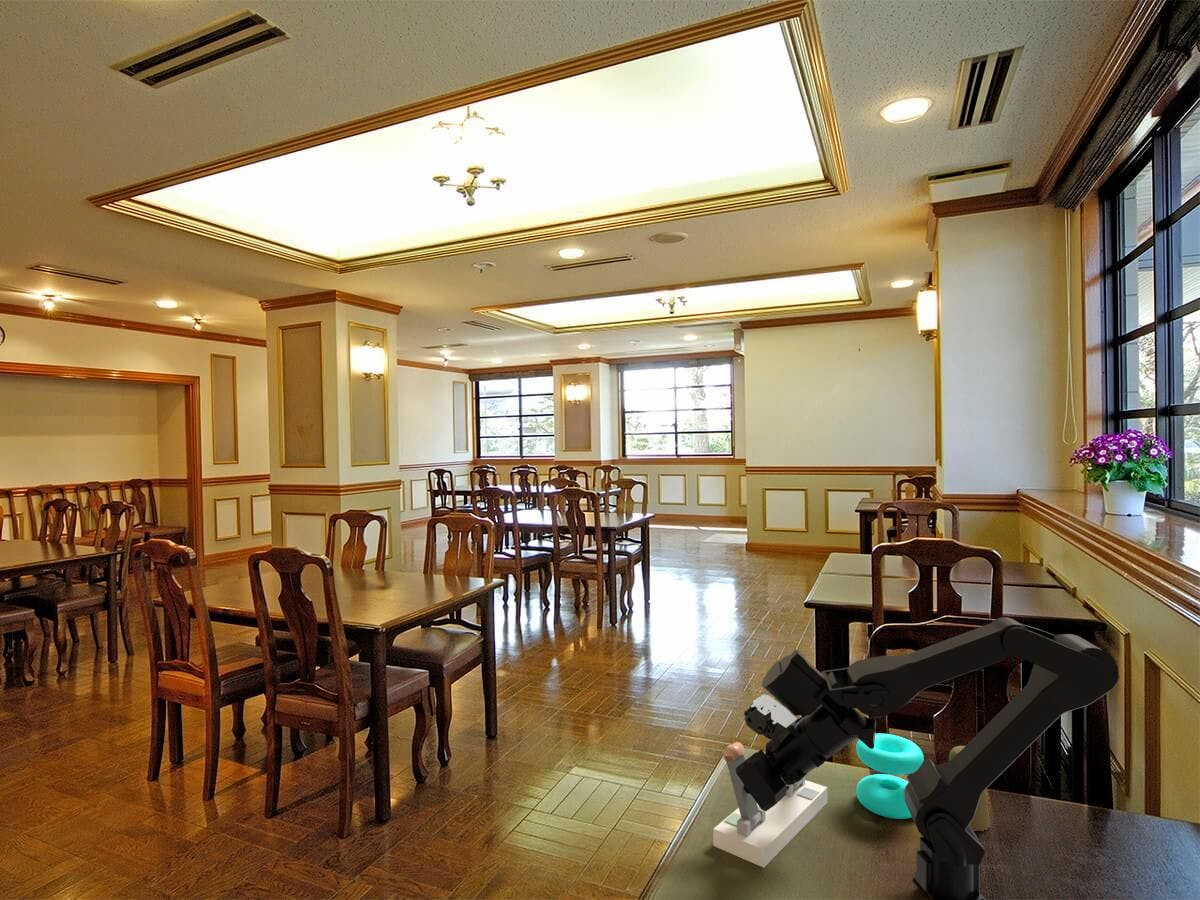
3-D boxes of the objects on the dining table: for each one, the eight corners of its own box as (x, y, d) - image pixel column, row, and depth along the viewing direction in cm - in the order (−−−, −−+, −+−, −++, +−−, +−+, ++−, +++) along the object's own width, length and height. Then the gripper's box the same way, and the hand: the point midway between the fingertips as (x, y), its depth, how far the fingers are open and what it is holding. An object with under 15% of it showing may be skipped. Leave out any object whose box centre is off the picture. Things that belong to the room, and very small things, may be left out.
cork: (996, 833, 102) (996, 760, 102) (952, 829, 104) (952, 756, 103) (982, 812, 108) (982, 742, 108) (941, 808, 109) (941, 739, 109)
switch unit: (827, 802, 111) (827, 776, 111) (763, 867, 95) (763, 836, 94) (781, 786, 116) (781, 761, 116) (713, 845, 100) (713, 816, 100)
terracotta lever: (763, 821, 101) (742, 741, 103) (754, 830, 98) (732, 748, 100) (752, 821, 102) (731, 742, 104) (742, 829, 99) (721, 749, 102)
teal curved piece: (918, 734, 114) (928, 761, 104) (918, 794, 114) (928, 827, 104) (854, 727, 117) (858, 753, 107) (854, 786, 117) (858, 816, 107)
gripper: (807, 666, 104) (741, 720, 111) (749, 703, 89) (678, 762, 97) (860, 732, 99) (787, 784, 106) (807, 782, 85) (728, 838, 92)
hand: (746, 789), depth 100 cm, fingers closed, pressing on terracotta lever
